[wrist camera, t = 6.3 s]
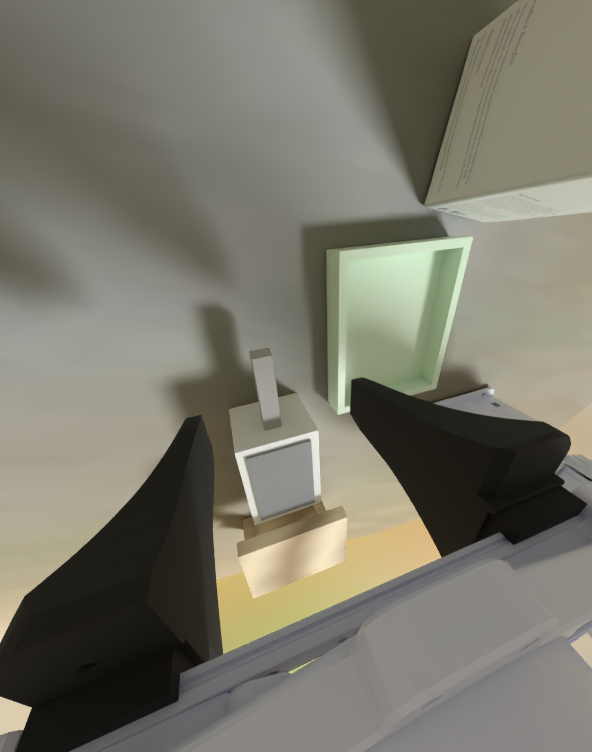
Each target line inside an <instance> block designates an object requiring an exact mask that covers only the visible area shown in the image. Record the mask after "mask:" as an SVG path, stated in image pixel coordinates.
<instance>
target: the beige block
mask: <svg viewBox="0 0 592 752" xmlns="http://www.w3.org/2000/svg"><path fill="white" fill-rule="evenodd" d="M242 522H243V530H244V537H245V540H244V541H242V542H239V543H237V551H238V558H239V561H240V564H241V566H242V569H243V572H244V574H245V577H246V579H247V582H248V585H249V588H250V590H251V593H252V596H253V598H256V597H259V596H261V595H264V594H266V593H268V592H271V591H273V590H276V589H278V588H281V587H283V586H285V585H288V584H291V583H293V582H295V581H298V580H300V579H303V578H305V577H307V576H310V575H312V574H315V573H317V572H319V571H322V570H325V569H327V568H329V567H332V566H334V565H337V564H339V563H342V562H344V561H345V557H346V555H345V554H346V536H347V515H346V513H345V511H344V509H343V507H342V506H340V507H337V508H334V509H331V510H329V511H326V510H325V507H324V505H323V503H322V501H321V503H318V504H315V505H312V506H309V507H307V508H304V509H301V510H298V511H295V512H292V513H289V514H286V515H283V516H281V517H278V518H275V519H272V520H269V521H266V522H263V523H260V524H257V525H254V524H253V519H252V516H251V517H248V518H245V519H242Z"/></svg>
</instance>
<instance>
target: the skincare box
mask: <svg viewBox="0 0 592 752" xmlns="http://www.w3.org/2000/svg"><path fill="white" fill-rule="evenodd" d="M425 207H428V208H431V209H435V210H438V211H442V212H446V213H450V214H454V215H458V216H462V217H466V218H470V219H474V220H477V221H481V222H496V221H506V220H518V219H528V218H537V217H548V216H558V215H568V214H577V213H587V212H592V0H518V1H516V2H515V3H514V4H513V5H512V6H510V7H509V8H508V9H507V10H505V11H504V12H503V13H502V14H501V15H499V16H498V17H497V18H496V19H494V20H493V21H492V22H491V23H489V24H488V25H487V26H486V27H484V28H483V29H482V30H481V31H479V32H478V33H477V34H475V35H474V37H473V39H472V42H471V45H470V49H469V52H468V56H467V59H466V63H465V66H464V70H463V73H462V77H461V80H460V84H459V88H458V91H457V94H456V98H455V101H454V105H453V108H452V112H451V115H450V118H449V122H448V125H447V129H446V132H445V136H444V139H443V142H442V146H441V149H440V153H439V156H438V160H437V163H436V167H435V171H434V174H433V178H432V181H431V185H430V188H429V191H428V194H427V198H426V201H425Z"/></svg>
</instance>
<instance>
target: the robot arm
mask: <svg viewBox="0 0 592 752" xmlns="http://www.w3.org/2000/svg"><path fill="white" fill-rule="evenodd" d="M493 392H494V389H493V388H491V387H488V388H484V389H481V390H477V391H474V392H470V393H467V394H463V395H460V396H456V397H452V398H449V399H445V400H442V401H438V402H435V403H430V402H427V401H424V400H421V399H418V398H415V397H412V396H410V395H407V394H404V393H402V392H399V391H397V390H394V389H392V388H389V387H387V386H384V385H382V384H380V383H377V382H375V381H372V380H369V379H367V378H364V377H361V378H356V379H352V380H351V398H350V413H351V415H352V417H353V419H354V421H355V422H356V424H357V426H358V427H359V429H360V430H361V431H362V433H363V434H364V435H365V437H366V438H367V439H368V440H369V442H370V443H371V444H372V445H373V447H374V448H375V449H376V450H377V452H378V453H379V454H380V455H381V457H382V458H383V459H384V460H385V462H386V463H387V464H388V466H389V467H390V469H391V470H392V471H393V473H394V474H395V476H396V478H397V479H398V481H399V482H400V484H401V485H402V487H403V489H404V490H405V492H406V494H407V495H408V497H409V498H410V500H411V502H412V503H413V505H414V507H415V509H416V510H417V512H418V514H419V516H420V517H421V519H422V521H423V523H424V525H425V526H426V528H427V530H428V532H429V534H430V535H431V538H432V539H433V541H434V543H435V545H436V547H437V549H438V551H439V553H440V555H441V557H442V558H440V559H438V560H436V561H433V562H431V563H429V564H427V565H425V566H422V567H420V568H417V569H415V570H413V571H411V572H409V573H406V574H404V575H402V576H399V577H397V578H395V579H393V580H391V581H388V582H386V583H384V584H381V585H379V586H377V587H375V588H372V589H370V590H368V591H365V592H363V593H361V594H359V595H356V596H354V597H352V598H350V599H348V600H345V601H343V602H341V603H338V604H336V605H334V606H332V607H329V608H327V609H325V610H323V611H320V612H318V613H316V614H313V615H311V616H309V617H307V618H305V619H302V620H300V621H298V622H295V623H293V624H291V625H289V626H286V627H284V628H282V629H280V630H277V631H275V632H273V633H271V634H268V635H266V636H264V637H262V638H259V639H257V640H255V641H253V642H250V643H249V644H246V645H243V646H241V647H239V648H237V649H234V650H232V651H230V652H228V653H225V654H223V649H222V639H221V629H220V620H219V609H218V597H217V586H216V572H215V559H214V544H213V494H214V460H213V450H212V446H211V443H210V440H209V437H208V434H207V431H206V428H205V425H204V422H203V419H202V416H201V415H199V416H194V417H190V418H186V420H185V421H184V423H183V424H182V426H181V428H180V430H179V431H178V433H177V435H176V437H175V438H174V440H173V442H172V443H171V445H170V447H169V448H168V450H167V451H166V453H165V454H164V456H163V458H162V459H161V460H160V462H159V463H158V465H157V466H156V468H155V469H154V470H153V472H152V473H151V475H150V476H149V477H148V479H147V480H146V481H145V482H144V484H143V485H142V486H141V487H140V489H139V490H138V491H137V492H136V493H135V495H134V496H133V497H132V498H131V499H130V500H129V501H128V502H127V503H126V505H125V506H124V507H123V508H122V509H121V510H120V511H119V512H118V513H117V514H116V515H115V516H114V517H113V518H112V519H111V520H110V521H109V522H108V523H107V524H106V525H105V526H104V527H103V528H102V529H101V530H100V531H99V532H98V533H97V534H96V535H95V536H94V537H93V538H92V539H91V540H90V541H89V542H88V543H87V544H85V545H84V546H83V547H82V548H81V549H80V550H79V551H78V552H77V553H76V554H74V555H73V556H72V557H71V558H70V559H69V560H68V561H66V562H65V563H64V564H63V565H62V566H61V567H59V568H58V569H57V570H56V571H55V572H53V573H52V574H51V575H50V576H49V577H47V578H46V579H45V580H44V581H43V582H41V583H40V584H39V585H38V586H37V587H36V588H34V589H33V590H32V591H31V592H29V593H28V594H27V595H26V596H25V597H24V598H23V600H22V602H21V604H20V606H19V608H18V609H17V611H16V613H15V615H14V617H13V619H12V621H11V623H10V625H9V627H8V629H7V631H6V633H5V635H4V637H3V639H2V641H1V643H0V696H1V697H3V698H6V699H9V700H12V701H15V702H18V703H20V704H23V705H26V706H29V707H32V709H31V712H30V714H29V717H28V720H27V722H26V725H25V728H24V730H18V731H13V732H8V733H6V734H3V735H0V752H592V668H591V667H590V666H589V665H588V664H587V663H586V662H585V661H584V659H583V658H582V657H581V656H580V655H579V654H578V653H577V651H576V650H575V649H574V648H573V647H572V646H571V645H570V644H571V643H573V642H574V641H576V640H577V639H579V638H580V637H582V636H584V635H585V634H587V633H588V634H589V635H590V636H591V637H592V460H590V459H588V458H586V457H584V456H583V455H570V454H568V451H569V449H570V446H571V441H570V437H569V436H568V435H567V434H565V433H563V432H561V431H560V430H558V429H556V428H554V427H552V426H551V425H549V424H547V423H545V422H540V421H536V420H535V419H533V418H531V417H529V416H528V415H526V414H524V413H522V412H520V411H519V410H517V409H515V408H513V407H511V406H510V405H508V404H506V403H504V402H502V401H501V400H499V399H497V398H495V397H493V396H492V395H493ZM318 657H319V658H318ZM316 658H317V659H316ZM314 659H315V660H314ZM311 660H314V661H312V662H311V663H309V664H307V665H306V666H304V667H303V668H301V669H299V670H297V671H296V672H294V673H293V674H290V673H288V672H289V671H291V670H293V669H295V668H297V667H299V666H301V665H303V664H305V663H307V662H309V661H311Z"/></svg>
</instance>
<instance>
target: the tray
mask: <svg viewBox="0 0 592 752" xmlns="http://www.w3.org/2000/svg"><path fill="white" fill-rule="evenodd" d="M472 240H473V236H448V237H439V238H429V239H420V240H411V241H402V242H393V243H383V244H374V245H365V246H356V247H347V248H337V249H328V250H326V282H327V360H328V402H329V404H330V405H331V407H332V408H333V409H334V411H335V412H336V413H337V415H340V414H344V413H347V412H350V398H351V380H352V379H356V378H361V377H364V378H367V379H369V380H372V381H375V382H377V383H380V384H382V385H384V386H387V387H389V388H392V389H394V390H397V391H399V392H402V393H404V394H407V395H410V396H411V395H414V394H418V393H422V392H426V391H429V390H433V389H436V387H437V383H438V379H439V375H440V371H441V367H442V363H443V359H444V355H445V350H446V346H447V342H448V338H449V334H450V330H451V326H452V322H453V318H454V313H455V309H456V305H457V301H458V297H459V293H460V289H461V285H462V281H463V277H464V272H465V268H466V264H467V260H468V256H469V252H470V248H471V244H472Z"/></svg>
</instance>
